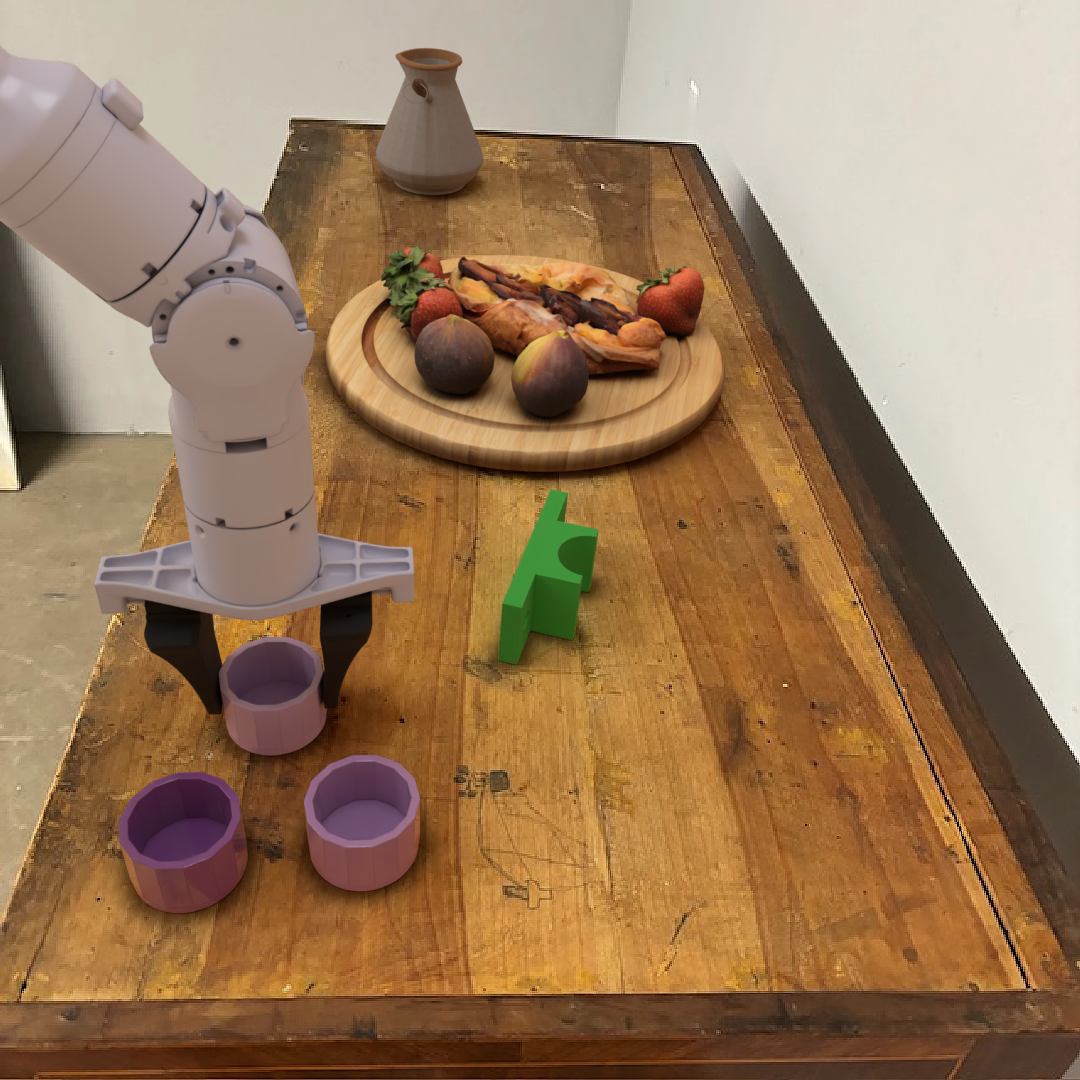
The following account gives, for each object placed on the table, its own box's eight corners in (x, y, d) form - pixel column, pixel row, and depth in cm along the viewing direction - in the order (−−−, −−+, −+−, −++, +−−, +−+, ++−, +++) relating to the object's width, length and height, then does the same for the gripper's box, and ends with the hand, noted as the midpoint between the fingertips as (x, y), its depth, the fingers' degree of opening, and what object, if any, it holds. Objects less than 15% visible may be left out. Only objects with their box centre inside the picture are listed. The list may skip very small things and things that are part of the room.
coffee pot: (383, 158, 121) (380, 14, 112) (485, 166, 122) (491, 23, 112) (355, 237, 105) (349, 76, 95) (474, 246, 105) (479, 86, 96)
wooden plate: (683, 282, 102) (698, 197, 97) (761, 483, 78) (785, 384, 72) (341, 271, 99) (336, 183, 94) (309, 477, 74) (300, 373, 69)
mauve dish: (318, 904, 49) (314, 859, 47) (302, 811, 53) (297, 765, 51) (430, 878, 51) (430, 834, 49) (406, 789, 55) (405, 744, 52)
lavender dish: (231, 765, 55) (223, 719, 53) (222, 690, 59) (214, 645, 57) (333, 746, 56) (330, 700, 54) (318, 673, 60) (314, 628, 58)
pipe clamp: (561, 676, 62) (567, 618, 59) (498, 662, 62) (501, 603, 59) (601, 555, 70) (608, 499, 67) (545, 543, 71) (550, 487, 68)
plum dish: (133, 926, 48) (119, 881, 46) (130, 829, 52) (117, 783, 50) (253, 899, 49) (245, 854, 47) (241, 806, 53) (234, 761, 51)
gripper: (409, 436, 52) (411, 637, 61) (95, 441, 50) (142, 648, 59) (416, 528, 47) (416, 734, 55) (64, 537, 45) (121, 750, 53)
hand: (275, 697), depth 57 cm, fingers closed on lavender dish, 5 cm apart
